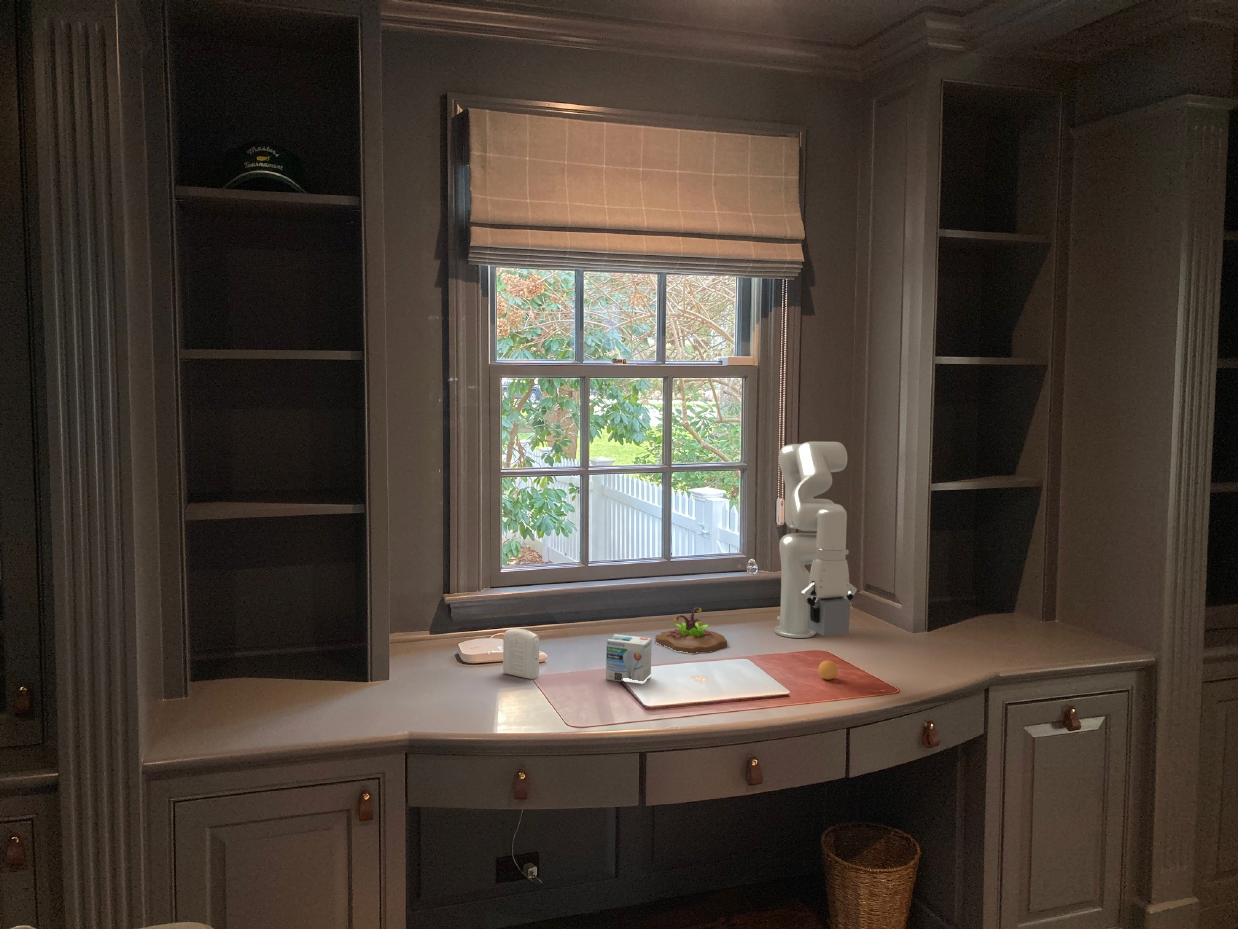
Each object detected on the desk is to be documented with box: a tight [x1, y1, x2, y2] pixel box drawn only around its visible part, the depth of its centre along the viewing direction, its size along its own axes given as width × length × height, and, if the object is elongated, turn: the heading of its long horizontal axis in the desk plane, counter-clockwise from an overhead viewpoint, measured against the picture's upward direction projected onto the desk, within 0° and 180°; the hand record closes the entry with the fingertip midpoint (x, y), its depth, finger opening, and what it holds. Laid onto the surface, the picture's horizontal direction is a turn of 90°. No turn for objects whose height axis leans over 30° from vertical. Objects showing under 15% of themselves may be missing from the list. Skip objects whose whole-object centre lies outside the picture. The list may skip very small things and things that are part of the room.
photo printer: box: [502, 628, 540, 680], centre depth 243 cm, size 10×4×12 cm, turn 60°
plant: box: [654, 606, 728, 654], centre depth 275 cm, size 20×20×11 cm
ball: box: [818, 660, 839, 680], centre depth 243 cm, size 5×5×5 cm
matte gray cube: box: [808, 596, 851, 637], centre depth 242 cm, size 8×8×9 cm
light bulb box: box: [605, 633, 653, 683], centre depth 241 cm, size 11×7×11 cm, turn 70°
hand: (828, 620), depth 242 cm, fingers closed on matte gray cube, 7 cm apart
